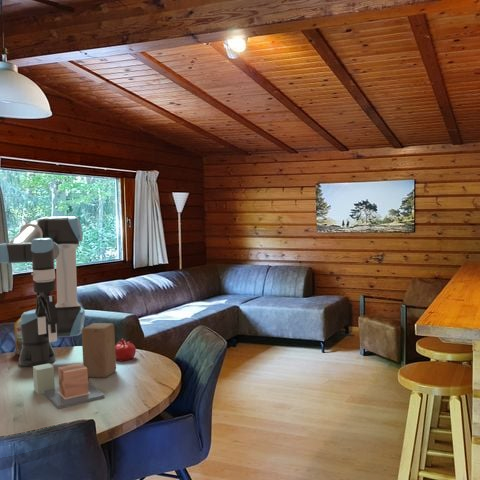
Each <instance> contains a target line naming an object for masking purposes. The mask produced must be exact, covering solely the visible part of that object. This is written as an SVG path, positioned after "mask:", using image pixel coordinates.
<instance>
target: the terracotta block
mask: <svg viewBox="0 0 480 480" xmlns="http://www.w3.org/2000/svg"><path fill="white" fill-rule="evenodd" d="M57 372H58V373H57V374H58V386H59V392H60V393H61V394H62V395H63V396H64V397H65V398H69V397H73V396H77V395H82V394H86V393H89V392H88V382H89V377H88V372H87V368H86V367H85V366H84V365H83V363H81V362H78V363H74V364H69V365H65V366H64V365H63V366H59V367H58V366H57Z"/></svg>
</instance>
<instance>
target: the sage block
mask: <svg viewBox="0 0 480 480" xmlns="http://www.w3.org/2000/svg"><path fill="white" fill-rule="evenodd" d="M54 367H55V366H54V365H52V364H51V363H48V364H43V365H38V366H32V372H33V373H32V375H33V391H34V392H35V393H36V395H44V394H45V393H44V391H48V390H52V389H56V383H55V381H56V380H55V368H54Z"/></svg>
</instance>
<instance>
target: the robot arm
mask: <svg viewBox="0 0 480 480" xmlns="http://www.w3.org/2000/svg"><path fill="white" fill-rule="evenodd" d="M82 231H83V230H82V226H81V221H80V219H79V218H78V217H77V216H75V215H74V216H73V215H65V216H63V215H60V216H43V217H39V218H38V217H37V218H35V219H32V220H31V221H28V222H27V223H25V224H24V225H23V226H21V228H20V231H19V233H17V235H16V236H15V237H13V238H12V240H10V241H9V242H8V243H7V242H4V243H0V264H7V265H8V264H18V263H20V264H22V263H31V265H32V267H31V269H32V272H31V273H30V274H31V276H32V280H33V284H32V285H33V292H34V293H36V300H35V301H36V302H35V309H30V310H28V311H24V312H25V313H24V312H23V313H22V314H21V316H20V318H21V332H22V350H21V353H20V355H19V358H18V365H19V366H20V367H21V366H22V367H26V368H27V367H32V368H33V366H38V365H43V364H48V363H50V364H51V363H54V362H55V361H56V353H55V351H54V348H53V346H52V343H53V342H57V341H58V338H65V337H66V338H68V337H75V336H79V335H82V328H84V327H85V326H84V325H85V317H86V312H85V311H86V310H85V309H84V308H82V305H81V304H80V302H78V286H77V285H78V284H77V281H78V280H77V253H76V252H77V249H78V247H79V246H80V242H82V241H83V232H82ZM55 264H56V265H55ZM55 266H56V267H55ZM55 279H56V281H55ZM55 291H56V302H55V295H52V294H51V293H52V292H55Z"/></svg>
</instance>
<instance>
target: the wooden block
mask: <svg viewBox="0 0 480 480" xmlns="http://www.w3.org/2000/svg"><path fill="white" fill-rule="evenodd" d="M115 335H116V334H115V325H114V323H109V322H107V323H106V322H103V323H101V322H92V323H91V324H89V325H87V326H84V327H83V328H82V333H81V347H82V349H81V350H82V365H84V366H85V367H86V368H87V372H88V378H97V377H98V378H99V379H102V378H103V379H104V378H105V377H106V378H107V377H109V376H111V375H112V374H113V373H115V372H116V370H117V360H116V355H115V346H116V336H115ZM106 378H105V379H106Z"/></svg>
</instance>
